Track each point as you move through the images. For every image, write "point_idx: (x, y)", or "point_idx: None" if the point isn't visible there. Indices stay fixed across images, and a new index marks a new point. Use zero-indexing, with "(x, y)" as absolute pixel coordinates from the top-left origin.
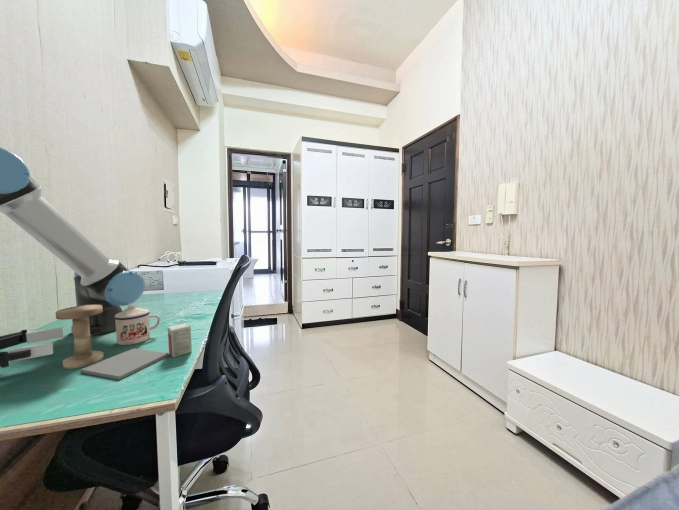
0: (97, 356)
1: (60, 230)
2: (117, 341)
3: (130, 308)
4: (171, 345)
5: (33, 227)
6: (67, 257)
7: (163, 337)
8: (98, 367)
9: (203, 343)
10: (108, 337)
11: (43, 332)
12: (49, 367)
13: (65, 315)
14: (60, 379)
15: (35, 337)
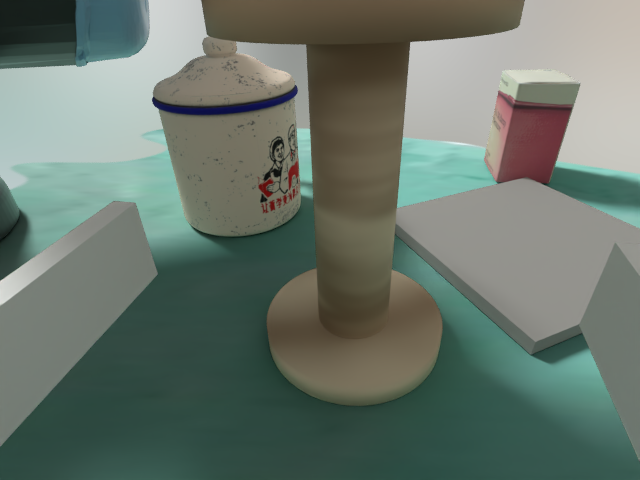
0: (397, 280)
1: None
2: (237, 224)
3: (231, 53)
4: (558, 143)
5: None
6: None
7: (310, 171)
8: (552, 296)
9: (469, 144)
10: None
11: (55, 287)
12: (290, 462)
13: None
14: (586, 431)
15: (17, 366)
